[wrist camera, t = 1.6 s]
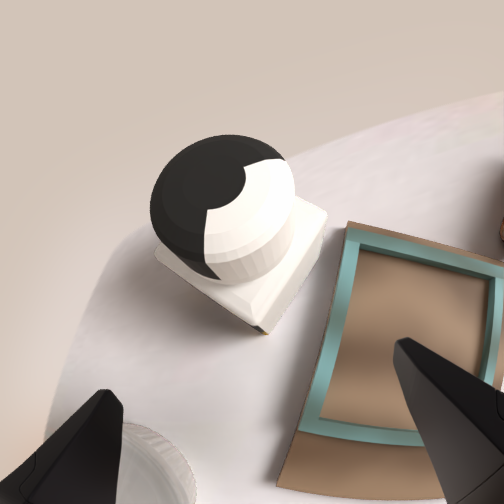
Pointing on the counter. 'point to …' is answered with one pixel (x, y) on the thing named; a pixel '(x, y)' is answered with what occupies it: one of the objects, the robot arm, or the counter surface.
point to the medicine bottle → (236, 226)
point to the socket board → (390, 362)
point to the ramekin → (152, 470)
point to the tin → (502, 230)
